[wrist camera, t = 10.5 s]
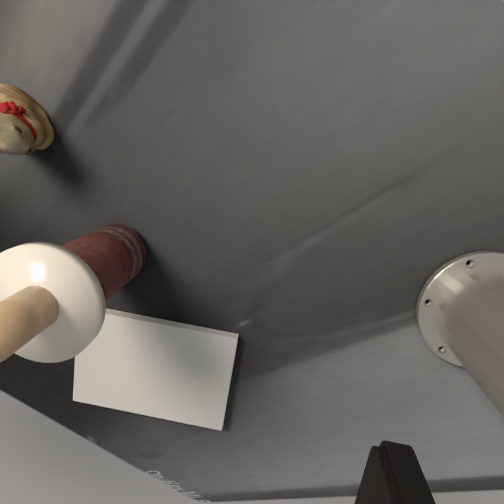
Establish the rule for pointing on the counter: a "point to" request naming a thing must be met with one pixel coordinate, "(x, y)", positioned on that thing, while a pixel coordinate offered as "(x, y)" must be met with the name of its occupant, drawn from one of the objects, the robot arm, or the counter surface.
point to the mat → (157, 369)
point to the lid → (47, 303)
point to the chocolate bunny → (22, 123)
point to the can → (111, 255)
